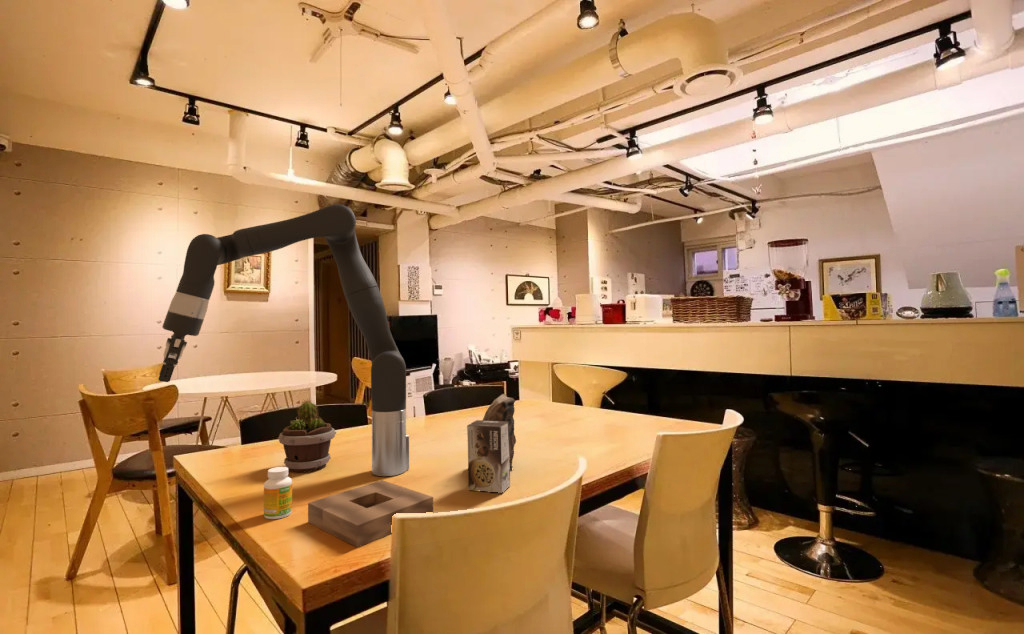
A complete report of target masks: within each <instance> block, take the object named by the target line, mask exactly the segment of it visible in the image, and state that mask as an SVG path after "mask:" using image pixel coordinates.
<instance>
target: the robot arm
mask: <svg viewBox="0 0 1024 634" xmlns="http://www.w3.org/2000/svg"><path fill="white" fill-rule="evenodd" d="M356 226H357V219H356V215H355V212H353V210H352V209H351V208H350V207H348V206H346V205H344V204H337V203H336V204H331V205H328V206H325V207H322V208H319V209H317V210H314V211H311V212H309V213H306V214H302V215H300V216H296V217H292V218H289V219H285V220H280V221H274V222H271V223H266V224H261V225H260V224H259V225H256V226H249V227H245V228H241V229H237V230H234V231H233V233H231V234H228V235H223V236H218V237H217V236H215V235H212V234H208V233H202V234H198V235H196V236H195V237H193V238H192V239H191V240H190V243H189V244H188V247H187V250H186V253H185V258H184V262H183V263H184V264H183V272H182V275H181V277H180V279H179V282H178V285H177V287H176V290H175V291H176V292H175V294H174V295H173V297H172V299H171V301H170V304H169V306H168V309H167V312H166V315H165V317H164V321H163V323H162V329H163V330H165V331H169V332H173V333H172V334H171V336H170V337H171V338H170V337H167V340H166V342H165V348H164V352H163V362H162V366H161V369H160V371H159V377H158V381H159V382H164V383H170V381H171V379H172V376H173V373H174V370H175V367H176V366H177V365H178V363H179V360H180V359H181V358H182V357H183V352H184V350H185V349H186V347H187V344H188V342H187V341H185V337H186V336H192V337H197V336H199V335H200V332H201V329H202V326H203V323H204V320H205V317H206V314H207V311H208V307H209V304H210V303H209V302H210V299H211V296H212V293H213V291H214V287H215V273H216V270H217V267H218V266H221V265H224V264H228V263H231V262H234V261H237V260H240V259H243V258H246V257H252V256H257V255H263V254H265V253H270V252H274V251H278V250H280V249H283V248H286V247H288V246H291V245H294V244H296V243H299V242H302V241H307V240H310V239H315V238H324V240H325V241H326V243H327V245H328V248H329V249H330V252H331V253H332V256H333V258H334V261H335V263H336V266H337V273H338V276H339V279H340V280H339V281H340V285H341V287H342V291H343V294H344V297H345V300H346V302H347V303H346V304H347V306H348V308H349V311H350V312H351V315H352V317H353V318H352V319H353V320H354V322H355V323H356V326H357V328H358V330H359V331H360V333H361V334H362V336H363V338H364V340H365V343H366V346H367V349H368V350H367V351H368V354H369V357H370V363H371V365H370V366H371V367H370V368H371V369H370V395H371V397H370V399H371V400H370V401H371V474H372V475H374V476H378V477H392V476H397V475H401V474H403V473H406V471H407V470H410V435H409V434H407V366H406V362H405V359H404V357H403V356H402V354H401V352H400V351H399V348H398V346H397V345H396V342H395V340H394V337H393V335H392V332H391V329H390V324H389V320H388V315H387V311H386V308H385V304H384V300H383V297H382V294H381V292H380V288H379V285H378V283H377V281H376V279H375V276H374V275H373V273H372V271H371V269H370V267H369V266H368V263H366V261H365V259H364V257H363V254H362V252H361V250H360V249H361V248H360V245H359V242H358V238H357V233H356Z"/></svg>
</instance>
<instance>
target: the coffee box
mask: <svg viewBox="0 0 1024 634" xmlns="http://www.w3.org/2000/svg"><path fill="white" fill-rule="evenodd" d="M466 429H467V433H466V435H467V474H468V476H467V477H468V478H467V481H468V485H467V486H468V487H467V488H468V489H470V490H480V491H489V492H488V493H490V492H498V493H497V494H500V493H502V492H503V493H505V492H506V491H507V490H508V489H509V488H510V487H511V472H510V451H509V422H505V421H484V420H483V419H482V420H479V419H477V420H474V421H473V422H471V423H469V424H467V426H466ZM509 486H510V487H509ZM508 487H509V488H508ZM507 488H508V489H507ZM506 489H507V490H506ZM505 490H506V491H505ZM480 491H479V492H480ZM504 491H505V492H504ZM503 493H502V494H503Z"/></svg>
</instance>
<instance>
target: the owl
mask: <svg viewBox="0 0 1024 634" xmlns="http://www.w3.org/2000/svg"><path fill="white" fill-rule="evenodd" d="M515 402H516V400H515V399H514V398H513V397H508V396H507V394H504V393H502V394H500V395H499V396H498V397H497V398H495V399H494V400H493V401H492V403H491V404H490V405H489V407H488V408H487V409H486V411H485V413H484V416H483V418H482V420H484V421H505V422H509V451H510V471H511V470H512V468H513V459H514V456H515V445H516V442H517V439H516V435H515V419H514V414H515ZM511 472H512V471H511Z"/></svg>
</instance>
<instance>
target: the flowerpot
mask: <svg viewBox="0 0 1024 634" xmlns="http://www.w3.org/2000/svg"><path fill="white" fill-rule="evenodd" d="M317 408H318V405H316V403H315V402H313V400H312V398H311V399H308V400H307V399H306V400H305V399H304V400H302V401H301V403H300V405H298V406H297V408H296V410H297V414H298V415H297V416H296V417H295V419H296V420H290V425H288V426H286V427H285V428H283V430H282V432H280V433H279V436H278V437H277V439H278V442H279V443H280V444H282V445H283V449H284V453H285V458H284V460H283V464H284V465H285V467H287V468H288V472H289V471H290V472H291V473H307V472H314V471H316V470H317V469H318V470H321V469H323V468H325V467H326V466H327V464H328V463H329V461H330V459H332V458H331V454H330V453H329V451H330V446H331V440H333V439H334V438H335V437H336V434H337V432H336V431H335V428H333V427H332V425H331V423H327V422H324V420H323V419H324V417H323V418H322V417H320V416H319V411H320V410H319V409H317ZM297 418H298V419H297Z"/></svg>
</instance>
